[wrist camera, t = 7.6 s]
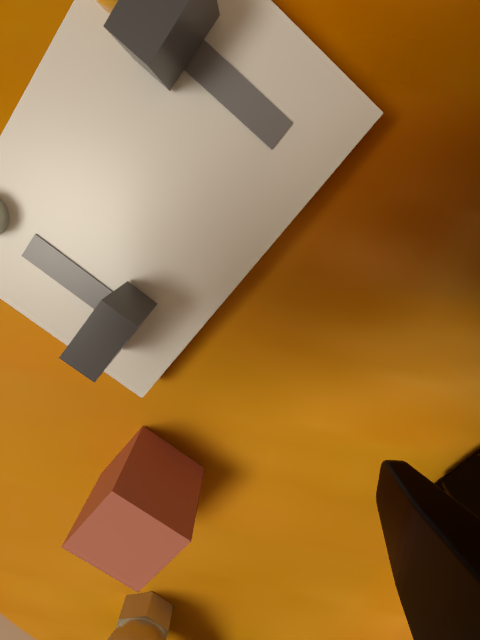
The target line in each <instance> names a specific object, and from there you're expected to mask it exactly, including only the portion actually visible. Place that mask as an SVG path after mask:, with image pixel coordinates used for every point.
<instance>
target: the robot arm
mask: <svg viewBox="0 0 480 640" xmlns="http://www.w3.org/2000/svg"><path fill="white" fill-rule="evenodd" d="M376 501H377V507H378V512H379V516H380V520H381V525H382V529H383V534H384V538H385V542H386V547H387V551H388V555H389V560H390V564H391V568H392V573H393V576H394V580H395V584H396V588H397V591H398V594H399V597H400V601H401V604H402V607H403V610H404V612H405V615H406V618H407V621H408V624H409V627H410V630H411V633H412V636H413V639H414V640H480V450H479V451H478V452H476V453H475V454H474V455H472V456H471V457H470V458H469V459H467V460H466V461H465V462H464V463H462V464H461V465H460V466H458V467H457V468H456V469H455V470H453V471H452V472H451V473H450V474H448V475H447V476H446V477H444V478H443V479H442V480H441V481H439V482H438V483H437V484H434V483H433V482H431V481H430V480H429V479H427V478H426V477H425V476H424V475H422V474H421V473H420V472H418V471H417V470H416V469H414V468H413V467H412V466H410V465H409V464H408V463H406V462H405V461H398V460H385V461H383V462H382V464H381V468H380V474H379V480H378V486H377V492H376Z"/></svg>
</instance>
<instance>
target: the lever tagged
mask: <svg viewBox="0 0 480 640" xmlns="http://www.w3.org/2000/svg"><path fill="white" fill-rule="evenodd" d="M219 16H220V13H219V8H218V3H217V0H118V1H117V3H116V5H115V6H114V8H113V10H112V12H111V13H110V15H109V17H108V19H107V20H106V22H105V24H104V28H105V29H106V30H107V31H108V32H109V33H110V34H111V35H112V36H113V37H114V38H115V39H116V40H117V42H118V43H119V44H120V45H121V46H122V47H123V48H124V49H125V50H126V51H127V52H128V53H129V54H130V56H131V57H132V58H133V59H134V60H135V61H136V62H138V63H139V64H140V65H141V66H142V67H143V68H144V69H145V70H147V71H148V72H149V73H150V74H151V75H152V76H153V77H154V78H155V79H157V80H158V81H159V82H160V83H161V84H162V85H163V86H164V87H166V88H167V89H168V90H169V91H170V90H171V89H172V87H173V86H174V84H175V83H176V81H177V79H178V78H179V76H180V75H181V73H182V72H183V70H184V69H185V67H186V66H187V64H188V63H189V61H190V60H191V58H192V57H193V55H194V54H195V52H196V51H197V49H198V48H199V46H200V45H201V43H202V42H203V40H204V39H205V37H206V36H207V34H208V32H209V31H210V29H211V28H212V26H213V25H214V23H215V22H216V20H217V19H218V17H219Z"/></svg>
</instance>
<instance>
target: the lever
mask: <svg viewBox="0 0 480 640" xmlns="http://www.w3.org/2000/svg"><path fill="white" fill-rule="evenodd" d="M156 305H157V303H156V302H155V301H153V300H152V299H151V298H149V297H148V296H147V295H146V294H144V293H143V292H142V291H140V290H139V289H138V288H136V287H135V286H134V285H132V284H131V283H130V282H128V281H127V282H126V283H124V284H123V285H121V286H120V287H119V288H117V289H116V290H114V291H113V292H112V293H110V294H109V295H107V296H106V297H105V298H103V299H102V300H101V301H100V302H99V304H98V305H97V306H96V308H95V309H94V311H93V312H92V313H91V315H90V316H89V317H88V319H87V320H86V322H85V323H84V324H83V326H82V327H81V328H80V330H79V331H78V333H77V334H76V335H75V337H74V338H73V339H72V341H71V342H70V344H69V345H68V346H67V348H66V349H65V350H64V352H63V353H62V355H61V356H60V357H59V358H60V359H61V360H63V361H64V362H66V363H67V364H69V365H70V366H72V367H73V368H74V369H76V370H77V371H79V372H80V373H82V374H83V375H84V376H86V377H87V378H89V379H90V380H92V381H93V382H95V381H96V380H97V379H98V377H99V376H100V375H101V374H102V373H103V371H104V370H105V369H106V368H107V367H108V365H109V364H110V363H111V362H112V361H113V360H114V358H115V357H116V356H117V355H118V354H119V352H120V351H121V350H122V349H123V347H124V346H125V345H126V344H127V342H128V341H129V340H130V338H131V337H132V336H133V335H134V333H135V332H136V331H137V329H138V328H139V327H140V326H141V324H142V323H143V322H144V321H145V319H146V318H147V317H148V315H149V314H150V313H151V312H152V310H153V309H154V308H155V307H156Z"/></svg>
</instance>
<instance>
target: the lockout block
mask: <svg viewBox="0 0 480 640" xmlns="http://www.w3.org/2000/svg"><path fill="white" fill-rule="evenodd" d="M203 473H204V467H202V466H201V465H199V464H198V463H196V462H195V461H193V460H192V459H191V458H189V457H188V456H186V455H185V454H183V453H182V452H180V451H179V450H177V449H176V448H174V447H173V446H172V445H170V444H169V443H167V442H166V441H164V440H163V439H161V438H160V437H158V436H157V435H156V434H154V433H153V432H151V431H150V430H148V429H147V428H145V427H144V426H142V428H141V429H140V430H139V431H138V432H137V433H136V434H135V436H134V437H133V438H132V439H131V440H130V441H129V442H128V444H127V445H126V446H125V447H124V448H123V449H122V451H121V452H120V453H119V454H118V455H117V456H116V457H115V459H114V460H113V461H112V462H111V463H110V464H109V465H108V467H107V468H106V469H105V470H104V471H103V472H102V474H101V475H100V477H99V479H98V481H97V483H96V484H95V486H94V488H93V490H92V492H91V494H90V496H89V497H88V499H87V501H86V503H85V505H84V507H83V508H82V510H81V512H80V514H79V516H78V518H77V519H76V521H75V523H74V525H73V527H72V529H71V531H70V532H69V534H68V536H67V538H66V540H65V542H64V543H63V545H62V548H64V549H66V550H67V551H69V552H71V553H72V554H74V555H76V556H77V557H79V558H81V559H83V560H84V561H86V562H88V563H89V564H91V565H93V566H94V567H96V568H98V569H99V570H101V571H103V572H105V573H106V574H108V575H110V576H111V577H113V578H115V579H116V580H118V581H120V582H122V583H123V584H125V585H127V586H128V587H130V588H132V589H133V590H135V591H137V592H138V591H139V590H140V589H141V588H142V587H144V586H145V585H146V584H147V583H148V582H149V581H150V580H151V579H152V578H153V577H154V576H155V575H156V574H157V573H158V572H159V571H160V570H161V569H163V568H164V567H165V566H166V565H167V564H168V563H169V562H170V561H171V560H172V559H173V558H174V557H175V556H176V555H177V554H178V553H179V552H180V551H182V550H183V549H184V548H185V547H186V546H187V545H188V544H189V543H190V542H191V539H192V533H193V528H194V522H195V517H196V511H197V506H198V500H199V495H200V489H201V484H202V479H203Z"/></svg>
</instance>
